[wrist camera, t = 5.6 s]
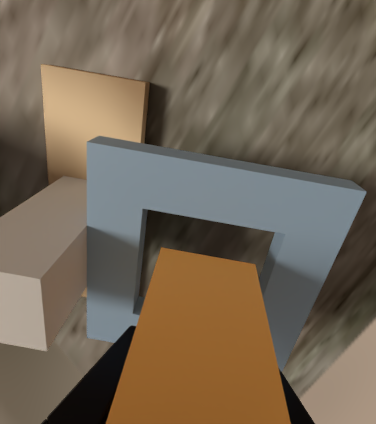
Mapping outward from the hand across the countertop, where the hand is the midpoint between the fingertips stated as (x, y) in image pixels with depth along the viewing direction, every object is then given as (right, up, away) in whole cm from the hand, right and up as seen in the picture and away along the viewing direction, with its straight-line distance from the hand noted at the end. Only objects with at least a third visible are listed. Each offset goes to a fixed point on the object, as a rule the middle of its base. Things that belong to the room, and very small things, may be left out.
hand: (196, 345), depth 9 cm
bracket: (-1, +4, +7) cm, 8 cm away
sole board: (-6, +5, +8) cm, 11 cm away
